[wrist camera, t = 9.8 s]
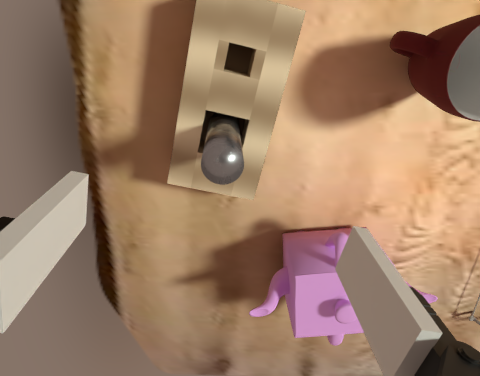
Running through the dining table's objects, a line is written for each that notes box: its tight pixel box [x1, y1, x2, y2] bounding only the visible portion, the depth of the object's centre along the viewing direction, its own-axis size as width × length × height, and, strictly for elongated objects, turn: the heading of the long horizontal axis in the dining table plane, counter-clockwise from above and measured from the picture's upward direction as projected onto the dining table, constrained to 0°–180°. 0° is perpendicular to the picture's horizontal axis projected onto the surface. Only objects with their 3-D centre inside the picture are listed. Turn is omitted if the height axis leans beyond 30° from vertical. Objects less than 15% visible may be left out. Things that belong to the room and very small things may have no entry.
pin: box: [201, 113, 244, 185], centre depth 30 cm, size 3×3×12 cm
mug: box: [390, 15, 480, 122], centre depth 30 cm, size 11×8×10 cm
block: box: [167, 0, 306, 200], centre depth 33 cm, size 18×9×5 cm, turn 167°
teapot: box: [249, 227, 437, 345], centre depth 39 cm, size 15×13×11 cm
